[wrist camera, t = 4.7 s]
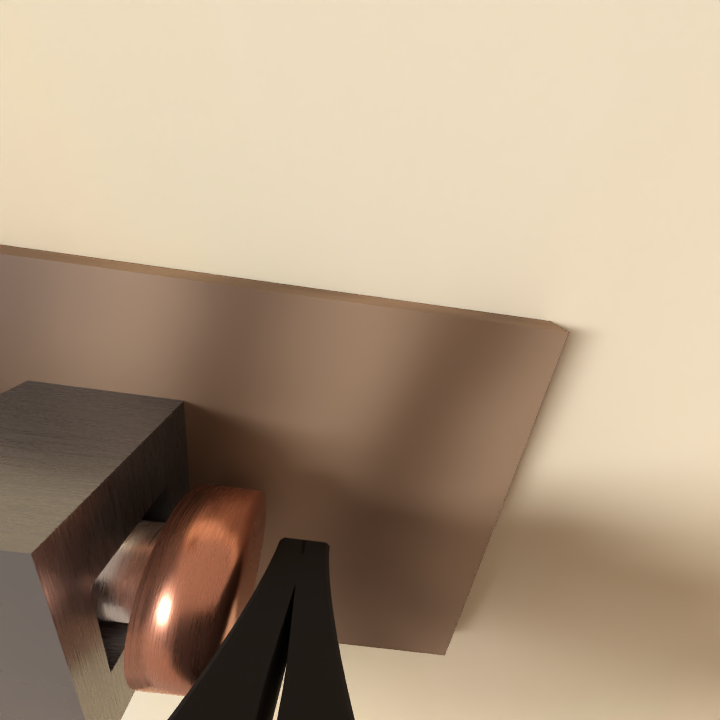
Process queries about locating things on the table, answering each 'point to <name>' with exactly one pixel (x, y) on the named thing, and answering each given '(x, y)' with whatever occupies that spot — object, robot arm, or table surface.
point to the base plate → (310, 413)
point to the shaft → (183, 585)
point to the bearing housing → (75, 537)
